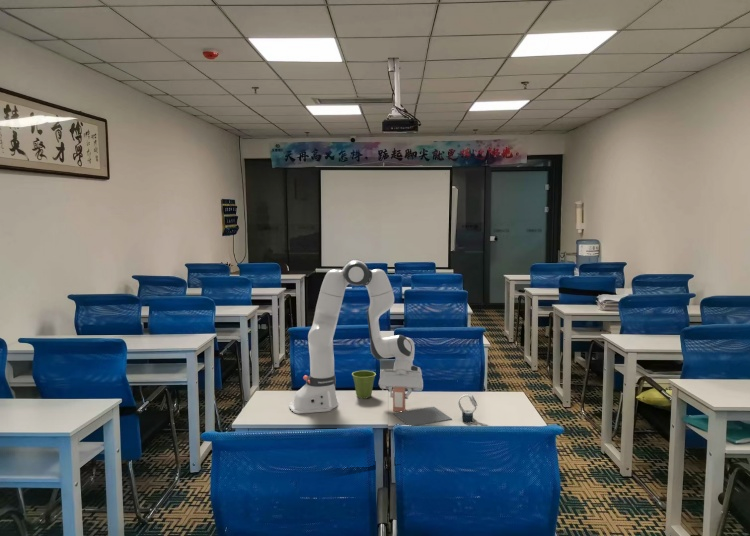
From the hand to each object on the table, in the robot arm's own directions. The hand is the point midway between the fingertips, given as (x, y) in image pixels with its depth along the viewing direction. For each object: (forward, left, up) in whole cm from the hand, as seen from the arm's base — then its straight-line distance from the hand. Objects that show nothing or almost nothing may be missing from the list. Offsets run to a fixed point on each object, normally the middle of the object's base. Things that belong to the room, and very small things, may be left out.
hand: (398, 397), depth 225 cm
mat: (+6, -10, -6) cm, 14 cm away
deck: (0, +1, -6) cm, 6 cm away
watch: (+22, -21, -6) cm, 32 cm away
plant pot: (-8, +25, -6) cm, 26 cm away
